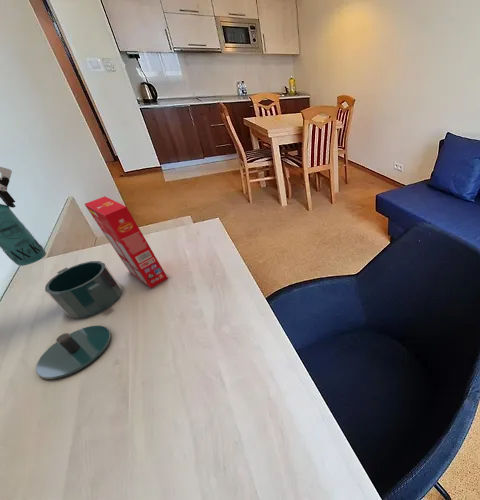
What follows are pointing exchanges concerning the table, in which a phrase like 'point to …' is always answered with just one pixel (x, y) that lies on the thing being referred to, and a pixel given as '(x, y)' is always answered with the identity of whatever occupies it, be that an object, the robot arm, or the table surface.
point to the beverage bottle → (18, 239)
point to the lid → (73, 352)
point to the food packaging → (127, 240)
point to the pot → (84, 289)
